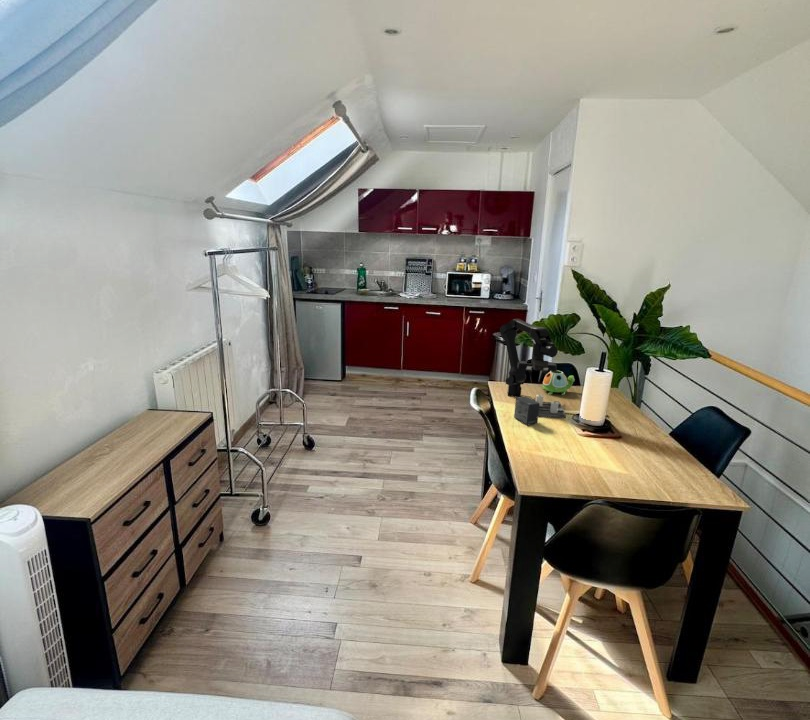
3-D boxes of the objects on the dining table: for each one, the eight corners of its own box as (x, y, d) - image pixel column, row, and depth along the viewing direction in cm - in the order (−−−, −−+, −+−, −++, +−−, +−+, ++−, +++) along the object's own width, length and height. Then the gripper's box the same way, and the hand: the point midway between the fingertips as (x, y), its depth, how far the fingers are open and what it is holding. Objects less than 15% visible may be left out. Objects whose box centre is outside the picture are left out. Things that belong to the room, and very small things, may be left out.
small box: (538, 424, 213) (540, 402, 211) (526, 426, 211) (528, 404, 208) (524, 416, 223) (526, 395, 220) (513, 417, 220) (515, 397, 218)
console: (533, 416, 223) (534, 411, 222) (529, 403, 240) (530, 399, 239) (566, 418, 221) (566, 414, 220) (559, 405, 238) (560, 401, 237)
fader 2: (551, 413, 222) (552, 403, 221) (550, 410, 225) (551, 400, 224) (557, 413, 222) (558, 403, 220) (556, 411, 225) (557, 401, 223)
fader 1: (536, 406, 231) (537, 396, 230) (535, 404, 234) (536, 394, 233) (542, 406, 231) (543, 396, 229) (541, 404, 234) (542, 394, 232)
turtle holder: (578, 395, 254) (581, 374, 251) (547, 396, 252) (549, 375, 249) (568, 388, 266) (570, 368, 263) (538, 388, 264) (540, 368, 261)
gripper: (520, 355, 225) (517, 385, 229) (560, 357, 223) (556, 388, 227) (518, 350, 236) (516, 379, 240) (556, 352, 233) (553, 381, 237)
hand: (535, 382), depth 236 cm, fingers open, 4 cm apart
